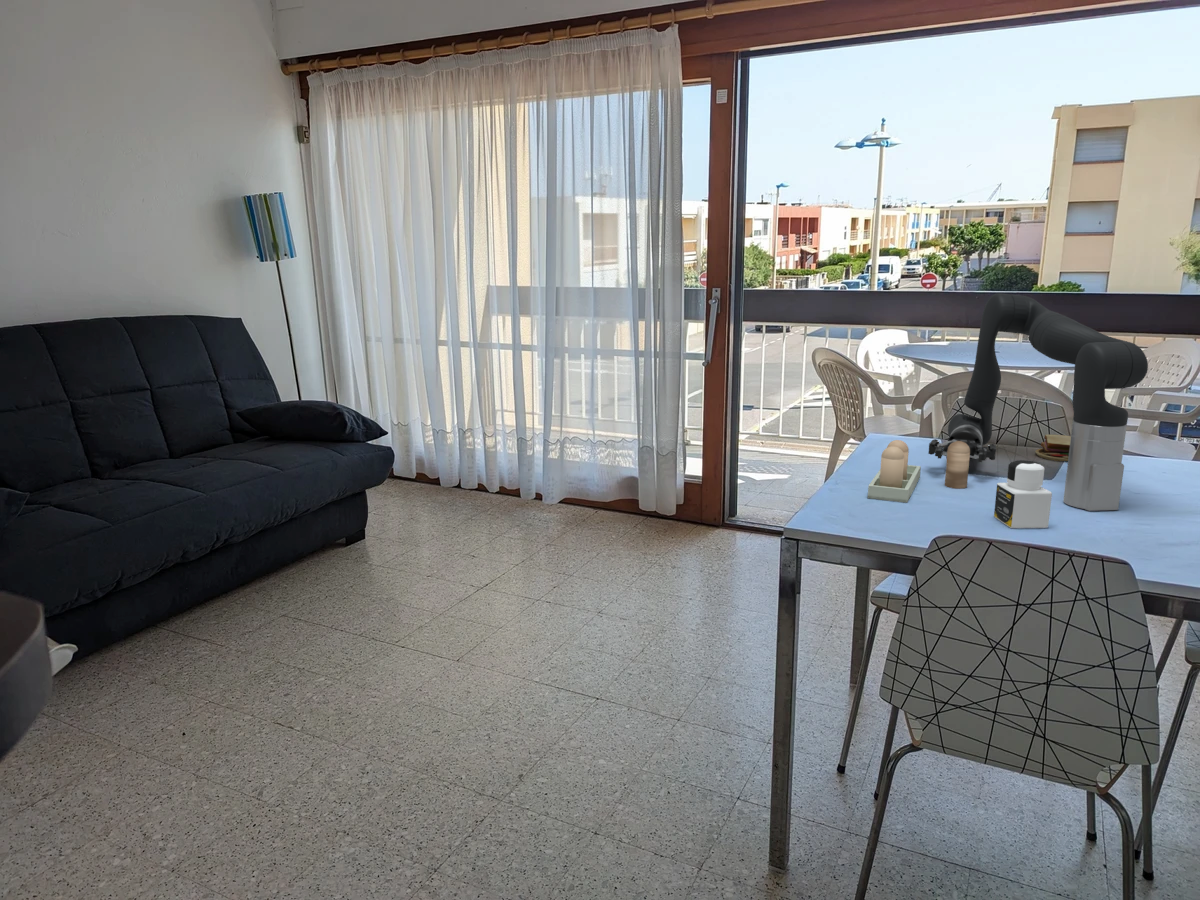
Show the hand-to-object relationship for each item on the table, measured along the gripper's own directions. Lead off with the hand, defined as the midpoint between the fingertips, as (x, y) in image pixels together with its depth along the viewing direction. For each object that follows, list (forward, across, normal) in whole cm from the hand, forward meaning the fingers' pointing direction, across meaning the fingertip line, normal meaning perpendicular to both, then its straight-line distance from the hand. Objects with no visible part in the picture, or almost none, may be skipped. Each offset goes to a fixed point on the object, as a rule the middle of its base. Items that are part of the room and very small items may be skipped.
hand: (959, 456), depth 180 cm
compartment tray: (+11, -12, +6) cm, 17 cm away
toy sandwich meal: (-36, +22, +6) cm, 43 cm away
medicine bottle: (+27, +13, +6) cm, 30 cm away
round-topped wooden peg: (+4, 0, +6) cm, 7 cm away
